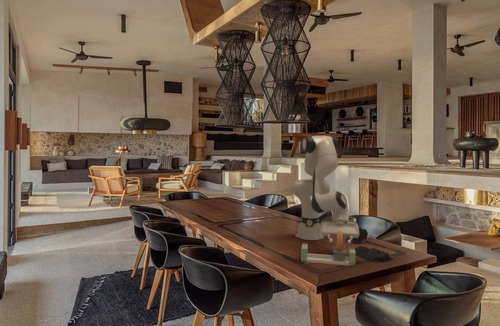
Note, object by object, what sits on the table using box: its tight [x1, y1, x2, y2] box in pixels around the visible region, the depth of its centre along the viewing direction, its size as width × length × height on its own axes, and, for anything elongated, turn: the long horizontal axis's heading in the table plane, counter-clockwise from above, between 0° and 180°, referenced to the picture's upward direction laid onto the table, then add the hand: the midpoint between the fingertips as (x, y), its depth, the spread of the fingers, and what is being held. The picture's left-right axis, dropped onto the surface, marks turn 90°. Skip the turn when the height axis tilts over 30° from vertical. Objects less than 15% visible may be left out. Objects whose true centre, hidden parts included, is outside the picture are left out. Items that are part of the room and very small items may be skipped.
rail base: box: [300, 243, 357, 267], centre depth 202 cm, size 10×28×7 cm, turn 78°
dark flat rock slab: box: [354, 245, 394, 263], centre depth 213 cm, size 15×22×5 cm
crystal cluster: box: [345, 226, 369, 245], centre depth 243 cm, size 13×14×10 cm
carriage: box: [332, 231, 346, 258], centre depth 200 cm, size 8×6×13 cm
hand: (339, 243), depth 200 cm, fingers open, 8 cm apart
